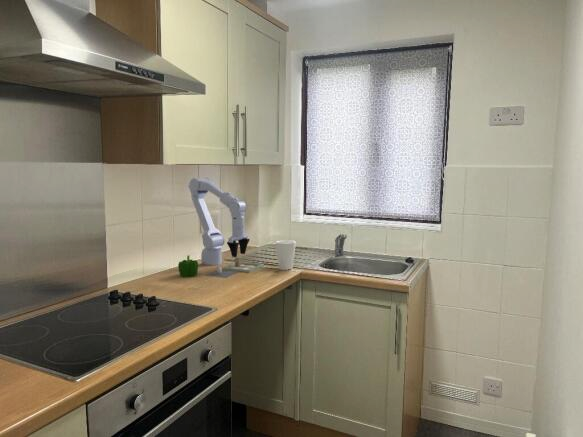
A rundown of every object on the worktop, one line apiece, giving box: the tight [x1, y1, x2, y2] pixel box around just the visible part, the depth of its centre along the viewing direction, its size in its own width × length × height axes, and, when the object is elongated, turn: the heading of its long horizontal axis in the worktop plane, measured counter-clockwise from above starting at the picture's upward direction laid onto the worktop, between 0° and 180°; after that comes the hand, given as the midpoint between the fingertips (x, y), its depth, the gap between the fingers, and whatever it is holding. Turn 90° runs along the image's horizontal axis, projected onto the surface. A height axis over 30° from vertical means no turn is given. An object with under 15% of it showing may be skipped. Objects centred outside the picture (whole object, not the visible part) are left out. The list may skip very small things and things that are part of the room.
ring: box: [231, 257, 256, 270], centre depth 210 cm, size 8×8×5 cm
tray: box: [223, 261, 265, 273], centre depth 210 cm, size 14×14×2 cm
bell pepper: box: [178, 255, 199, 278], centre depth 195 cm, size 8×8×10 cm
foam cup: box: [275, 239, 297, 271], centre depth 213 cm, size 10×9×13 cm
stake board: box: [204, 266, 240, 279], centre depth 198 cm, size 11×11×4 cm
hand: (238, 255), depth 210 cm, fingers open, 7 cm apart
